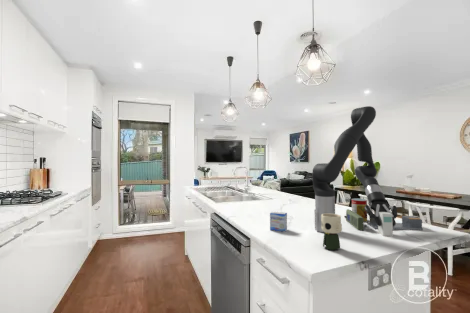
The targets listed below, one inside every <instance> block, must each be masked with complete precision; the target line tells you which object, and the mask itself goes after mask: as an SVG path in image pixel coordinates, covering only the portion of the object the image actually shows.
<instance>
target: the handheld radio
mask: <svg viewBox="0 0 470 313" xmlns="http://www.w3.org/2000/svg"><path fill="white" fill-rule="evenodd" d="M345 211H346V212H345V213H346V214H345V215H344V219H345V221H346V222H347V223H349V225H350V226H352V227H353V228H354V229H355V230H357V231H364V224H365V222H364V219H363V218H362V217H361V216H359V215H358V214H356V213H354V212H353V211H352V209H349V208H348V209H346V210H345Z"/></svg>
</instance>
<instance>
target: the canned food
mask: <svg viewBox="0 0 470 313" xmlns="http://www.w3.org/2000/svg"><path fill="white" fill-rule="evenodd" d="M366 205H368V199H367V198H366V199H365V198H357V197H356V198H355V197H354V198H351V211H353V212H354V213H356V214H358V215H359V216H361V217H362V218H363V219H364V223H367V222H368V214H367V212H366V210H365V209H364V208H365V206H366Z"/></svg>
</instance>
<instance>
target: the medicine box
mask: <svg viewBox="0 0 470 313" xmlns="http://www.w3.org/2000/svg"><path fill="white" fill-rule="evenodd" d="M269 230H270V231H272V230H275V231H276V232H283V231H285V232H287V230H288V212H278V211H271V212H270V213H269ZM275 231H274V232H275Z"/></svg>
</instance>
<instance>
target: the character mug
mask: <svg viewBox="0 0 470 313" xmlns="http://www.w3.org/2000/svg"><path fill="white" fill-rule="evenodd" d="M341 217H342V216H341V215H340V214H336V213H335V214H330V213H325V214H322V215H321V223H322V226H321V228H322V231H324V232H323V233H324V234H323V242H322V247H323V248H325V249H327V250H331V251H332V250H333V251H335V250H338V249H340V248H341V243H340V236H339V234H340V233H341V232H342V230H343V227H342V226H343V224H342V218H341Z"/></svg>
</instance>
